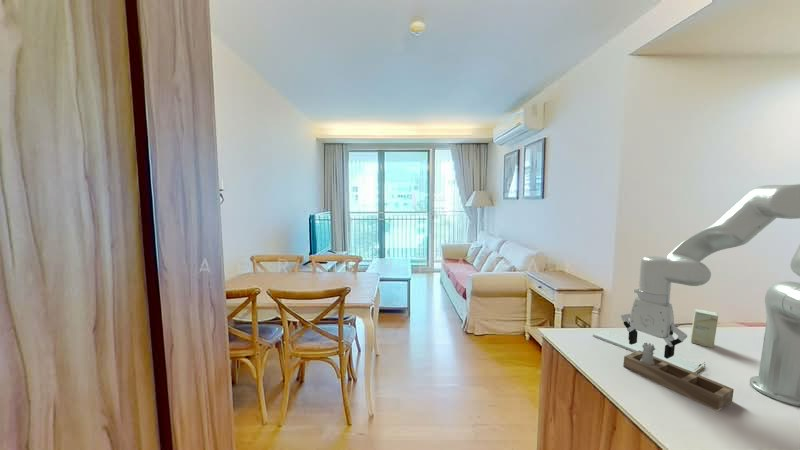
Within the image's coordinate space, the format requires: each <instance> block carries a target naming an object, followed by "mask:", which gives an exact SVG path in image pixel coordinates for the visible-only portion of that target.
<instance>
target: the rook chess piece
mask: <svg viewBox="0 0 800 450" xmlns="http://www.w3.org/2000/svg"><path fill="white" fill-rule="evenodd" d="M643 344H644V345H642V347H643V348H644V350H643V356H642V359H640V360H639V361H641V362H644V363H646V364H648V365H651V366H654V365H655V364H654V362H653V354H654V353H653V351H654V350H655V349H656V347H655V345H654V344H651V343H650V342H644V343H643Z"/></svg>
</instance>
